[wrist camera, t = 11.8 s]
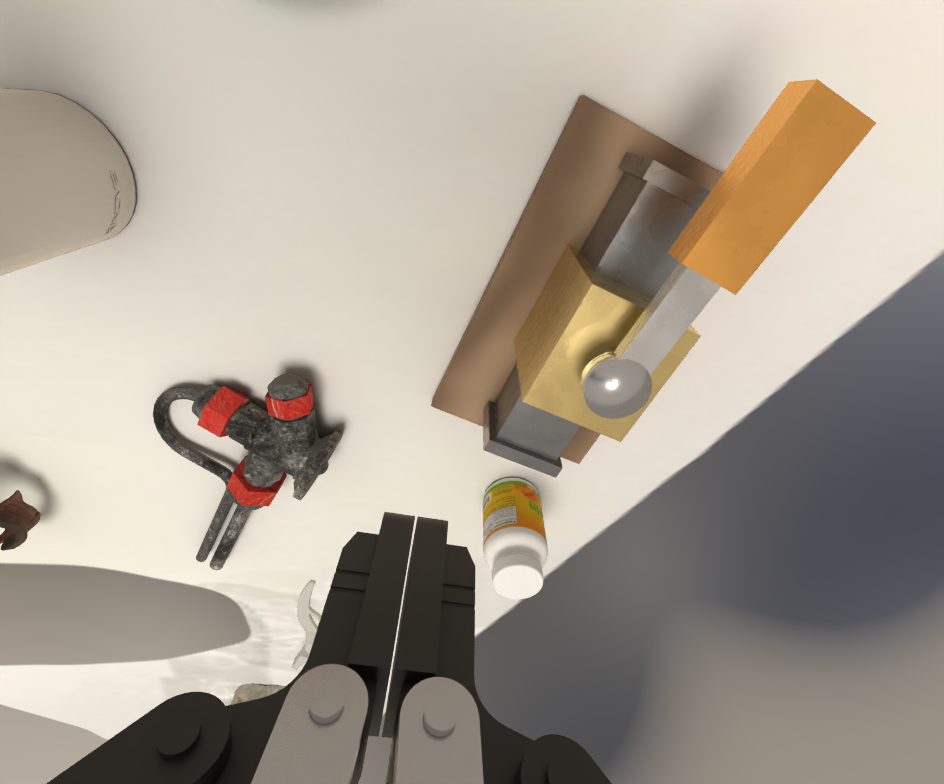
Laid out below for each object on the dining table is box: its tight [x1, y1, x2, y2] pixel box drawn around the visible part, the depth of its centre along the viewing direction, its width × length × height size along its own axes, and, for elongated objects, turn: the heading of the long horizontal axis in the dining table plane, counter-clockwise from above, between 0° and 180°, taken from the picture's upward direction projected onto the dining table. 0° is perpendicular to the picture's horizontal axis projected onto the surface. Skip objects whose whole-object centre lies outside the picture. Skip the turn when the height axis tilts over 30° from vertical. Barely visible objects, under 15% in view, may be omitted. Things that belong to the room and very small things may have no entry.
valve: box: [153, 374, 342, 570], centre depth 44 cm, size 6×26×15 cm
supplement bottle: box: [483, 478, 548, 599], centre depth 42 cm, size 5×5×10 cm
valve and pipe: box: [483, 152, 711, 477], centre depth 32 cm, size 7×21×10 cm, turn 155°
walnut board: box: [431, 95, 723, 464], centre depth 36 cm, size 14×24×1 cm, turn 155°
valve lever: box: [580, 79, 876, 419], centre depth 24 cm, size 17×4×2 cm, turn 153°
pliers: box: [292, 580, 321, 669], centre depth 57 cm, size 10×2×15 cm
